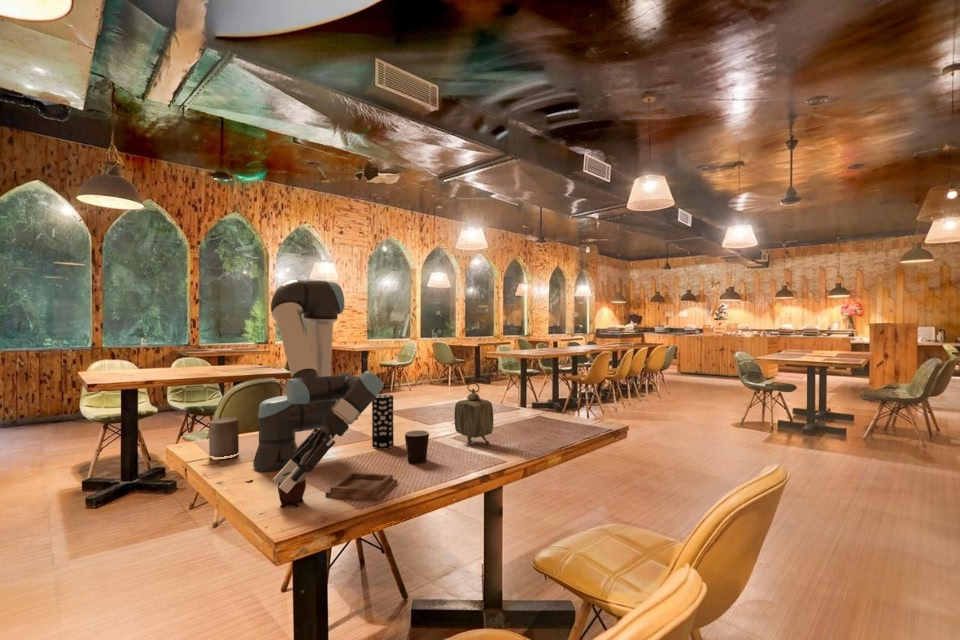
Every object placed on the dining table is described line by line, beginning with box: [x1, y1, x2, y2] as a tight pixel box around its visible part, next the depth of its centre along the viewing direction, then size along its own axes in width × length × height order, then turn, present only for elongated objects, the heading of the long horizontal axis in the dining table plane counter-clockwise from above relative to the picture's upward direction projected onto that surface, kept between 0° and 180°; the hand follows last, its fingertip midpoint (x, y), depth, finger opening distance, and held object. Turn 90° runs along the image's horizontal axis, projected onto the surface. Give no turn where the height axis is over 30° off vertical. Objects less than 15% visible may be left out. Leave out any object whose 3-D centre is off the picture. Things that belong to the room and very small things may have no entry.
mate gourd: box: [277, 450, 310, 509], centre depth 125 cm, size 8×8×15 cm
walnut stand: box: [325, 472, 398, 501], centre depth 135 cm, size 16×14×3 cm
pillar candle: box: [208, 416, 240, 457], centre depth 171 cm, size 10×10×15 cm
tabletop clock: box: [454, 381, 495, 446], centre depth 186 cm, size 14×9×25 cm, turn 45°
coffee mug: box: [404, 429, 430, 465], centre depth 164 cm, size 12×9×10 cm
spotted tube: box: [371, 394, 394, 449], centre depth 184 cm, size 8×8×20 cm
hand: (280, 486), depth 123 cm, fingers closed on mate gourd, 7 cm apart
